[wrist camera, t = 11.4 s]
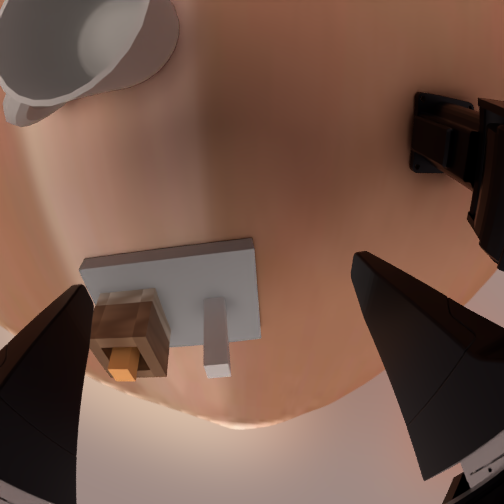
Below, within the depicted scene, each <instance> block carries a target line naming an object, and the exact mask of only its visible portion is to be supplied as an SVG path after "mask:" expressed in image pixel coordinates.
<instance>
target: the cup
mask: <svg viewBox="0 0 504 504" xmlns="http://www.w3.org/2000/svg"><path fill="white" fill-rule="evenodd" d="M178 36H179V20H178V17H177V14H176V11H175V8H174V6H173V4H172V3H171V1H170V0H5V1H4V3H3V5H2V8H1V10H0V85H1V87H2V89H3V90H4V92H6V95H5V98H4V101H3V108H4V114H5V118H6V122H9V123H11V124H13V125H16V126H20V127H24V126H29V125H32V124H34V123H37V122H39V121H41V120H42V119H44V118H46V117H48V116H49V115H50V114H52V113H53V112H55V111H56V110H58V109H59V108H61V107H62V106H63V105H64V104H65V103H67V102H68V101H71V100H75V99H79V98H83V97H87V96H91V95H95V94H100V93H105V92H110V91H115V90H120V89H125V88H130V87H132V86H134V85H137V84H139V83H141V82H143V81H146V80H147V79H149V78H150V77H151V76H153V75H154V74H155V73H157V72H158V71H159V70H160V69H161V68H162V67H163V66H164V64H165V63H166V62H167V61H168V60H169V58H170V56H171V54H172V53H173V51H174V49H175V47H176V43H177V39H178Z"/></svg>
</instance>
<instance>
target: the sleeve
mask: <svg viewBox="0 0 504 504" xmlns="http://www.w3.org/2000/svg"><path fill="white" fill-rule="evenodd" d="M170 335H171V329H170V326H169V324H168V321H167V318H166V316H165V313H164V311H163V308H162V305H161V303H160V300H159V297H158V294H157V292H156V289H155V288H150V289H140V290H130V291H120V292H110V293H100V296H99V298H98V301H97V303H96V306H95V309H94V311H93V319H92V328H91V338H90V347H89V348H90V349H91V351H92V352H93V354H94V355H95V357H96V358H97V359H98V361H99V362H100V364H101V365H102V366H103V368H104V369H105V370H106V372H107V373H108V374H109V376H110V377H113V376H112V375H111V373H110V372H109V371H108V365H109V361H110V357H111V352H112V348H113V347H138V349H139V351H140V357H139V363H138V369H137V375H136V378H137V377H167V366H168V355H169V345H170ZM113 378H114V377H113Z"/></svg>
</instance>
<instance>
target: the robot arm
mask: <svg viewBox="0 0 504 504" xmlns="http://www.w3.org/2000/svg"><path fill="white" fill-rule="evenodd" d="M421 96H422V97H423V99H422V101H421ZM478 106H479V112H478V111H475V110H474V107H473V105H472V104H471V103H469V102H465V101H461V100H457V99H453V98H448V97H444V96H439V95H434V94H429V93H424V92H418V93H417V94H416V96H415V112H414V124H413V137H412V150H411V159H410V169H411V170H412V171H414V172H415V173H445V174H447V175H448V176H450V177H452V178H453V179H455V180H456V181H458V182H459V183H461V184H462V185H464V186H465V187H467V188H468V189H470V190H471V191H473V194H472V200H471V206H470V211H469V212H468V216H467V220H468V222H469V223H470V225H471V227H472V228H473V230H474V231H475V233H476V235H477V236H478V238H479V240H480V241H479V245H480V247H481V248H482V249H483V250H484V251H485V252H486V253H487V254H488V255H489V256H490V258H491V259H492V260H493V261H494V262H495V263H497V264H498V265H497V268H498V269H499V270H501V271H504V101H498V100H492V99H484V98H478ZM468 107H469V108H468ZM416 164H417V167H416V168H415V165H416ZM351 279H352V282H353V285H354V289H355V292H356V295H357V298H358V301H359V304H360V307H361V311H362V314H363V316H364V319H365V321H366V324H367V326H368V328H369V331H370V333H371V335H372V338H373V340H374V343H375V345H376V347H377V350H378V352H379V355H380V357H381V359H382V362H383V364H384V367H385V369H386V372H387V374H388V377H389V380H390V382H391V385H392V387H393V390H394V393H395V395H396V398H397V401H398V403H399V406H400V409H401V412H402V415H403V417H404V420H405V423H406V426H407V430H408V432H409V435H410V438H411V442H412V445H413V448H414V451H415V454H416V457H417V460H418V463H419V467H420V470H421V474H422V477H423V480H424V481H426V480H428V479H430V478H432V477H434V476H436V475H438V474H440V473H442V472H443V471H445V470H447V469H449V468H451V467H453V466H454V465H456V464H458V463H461V466H462V468H463V471H464V472H462V473H461V474H459V475H457V476H456V477H454V478H453V481H452V483H451V485H450V488H449V490H448V492H447V494H446V497H445V499H444V501H443V503H442V504H504V328H503V327H501V326H499V325H497V324H495V323H493V322H491V321H489V320H488V319H486V318H484V317H482V316H480V315H478V314H476V313H475V312H473V311H471V310H469V309H467V308H466V307H464V306H462V305H460V304H459V303H457V302H455V301H454V300H452V299H450V298H447V296H445V295H444V294H442V293H440V292H439V291H437V290H435V289H434V288H432V287H430V286H428V285H427V284H425V283H423V282H421V281H420V280H418V279H416V278H415V277H413V276H411V275H409V274H407V273H406V272H404V271H402V270H400V269H399V268H397V267H395V266H393V265H391V264H390V263H388V262H386V261H384V260H382V259H380V258H379V257H377V256H375V255H373V254H371V253H369V252H367V251H362V252H356V253H355V254H354V256H353V263H352V269H351ZM93 311H94V305H93V302H92V300H91V298H90V296H89V294H88V292H87V289H86V288H85V286H84V285H82V284H78V285H72V286H71V287H70V288H69V289H67V290H66V291H65V292H64V293H63V294H62V295H60V296H59V297H58V298H57V299H56V300H55V301H53V302H52V303H51V304H50V305H49V306H48V307H47V308H45V309H44V310H43V311H42V312H41V313H40V314H39V315H38V316H36V317H35V318H34V319H33V320H32V321H31V322H30V323H29V324H28V325H27V326H26V327H24V328H23V329H22V330H21V331H20V332H19V333H18V334H17V335H16V336H15V337H14V338H13V339H12V340H11V341H10V342H9V343H8V345H5V346H4V347H3V349H1V350H0V504H49V503H51V504H76V459H77V458H76V454H77V438H78V425H79V415H80V405H81V397H82V390H83V383H84V376H85V370H86V364H87V358H88V353H89V347H90V338H91V328H92V319H93Z"/></svg>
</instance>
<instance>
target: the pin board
mask: <svg viewBox="0 0 504 504" xmlns="http://www.w3.org/2000/svg"><path fill="white" fill-rule="evenodd" d="M79 272H80V274H81V276H82V278H83V281H84V283H85V285H86V287H87V289H88V291H89V293H90V295H91V297H92V299H93V301H94V303H95V305H96V303H97V301H98V298H99V296H100V293H110V292H120V291H130V290H140V289H150V288H155V289H156V292H157V294H158V297H159V300H160V303H161V305H162V308H163V311H164V313H165V316H166V318H167V321H168V324H169V326H170V329H171V335H170V345H169V347H182V346H194V345H204V368H205V371H206V374H207V377H208V378H218V377H229V376H231V367H230V354H229V342H235V341H244V340H252V339H260V338H261V330H260V317H259V304H258V291H257V278H256V265H255V252H254V245H253V240H252V238H247V239H238V240H230V241H221V242H213V243H205V244H197V245H188V246H180V247H172V248H164V249H157V250H149V251H141V252H133V253H126V254H118V255H111V256H103V257H96V258H88V259H84V261H83V263H82V265H81V266H80V268H79ZM139 357H140V351H139V349H138V347H113V348H112V352H111V357H110V361H109V365H108V371H109V372H110V373H111V375H112V376H113V377H114V379H115V380H116V381H136V375H137V369H138V363H139Z"/></svg>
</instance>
